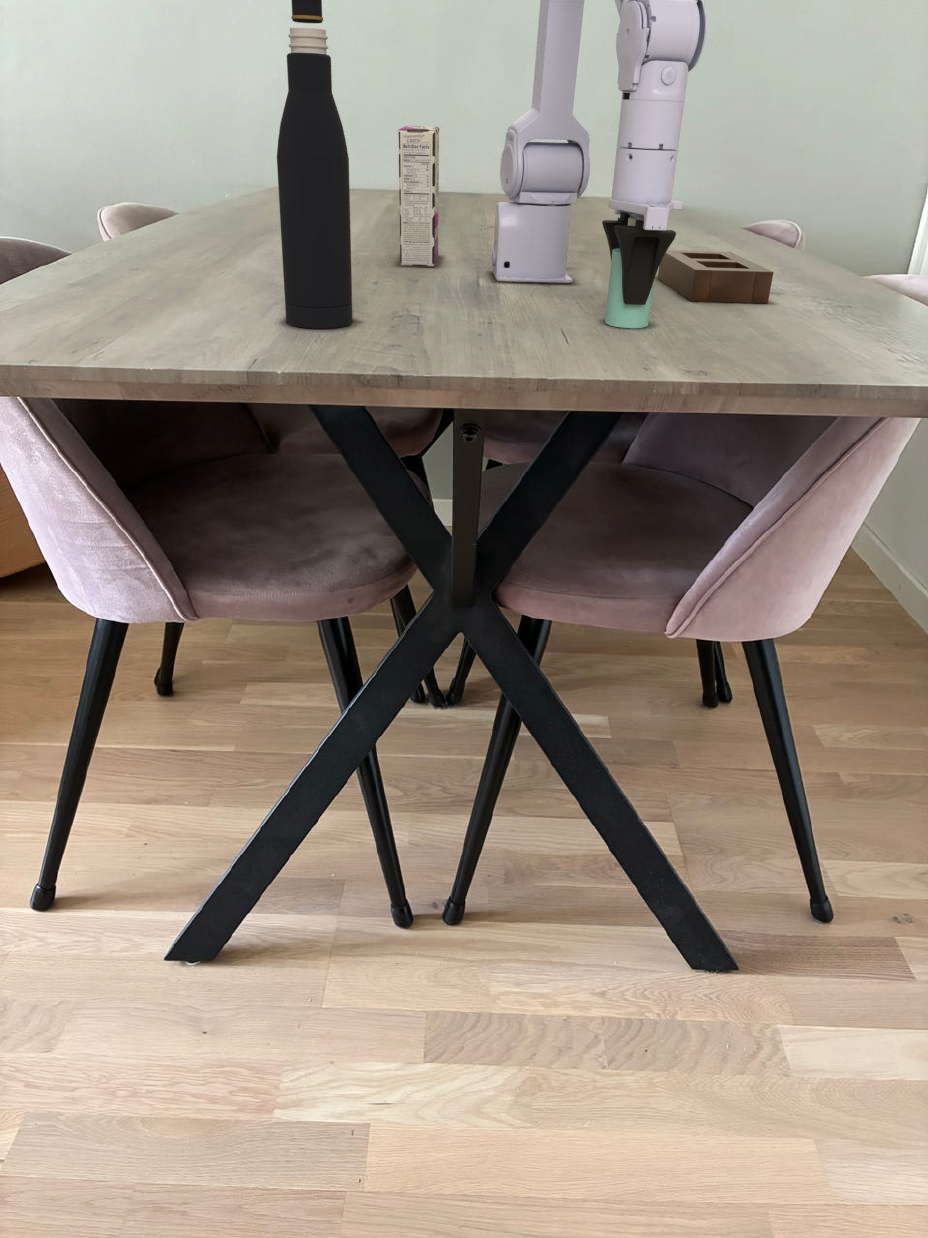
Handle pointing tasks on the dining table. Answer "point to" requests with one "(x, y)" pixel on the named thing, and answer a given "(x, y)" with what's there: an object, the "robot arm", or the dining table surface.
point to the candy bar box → (419, 195)
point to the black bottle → (313, 184)
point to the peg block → (715, 277)
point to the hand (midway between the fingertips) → (629, 299)
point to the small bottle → (616, 308)
